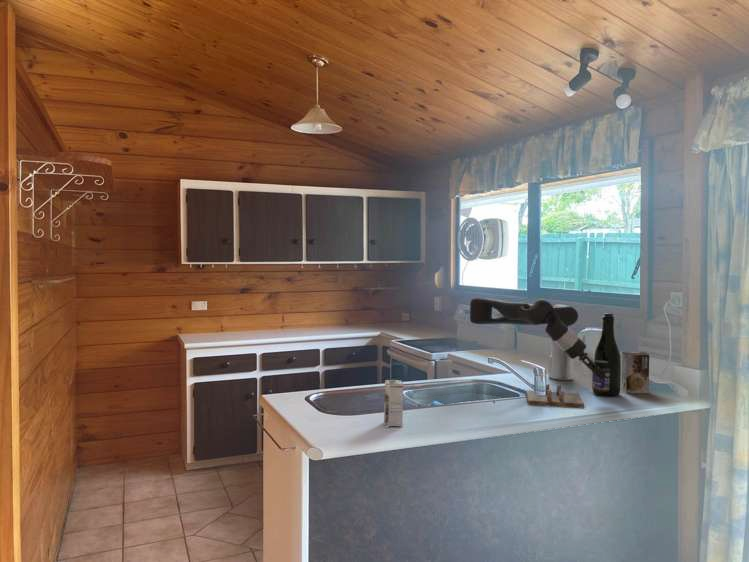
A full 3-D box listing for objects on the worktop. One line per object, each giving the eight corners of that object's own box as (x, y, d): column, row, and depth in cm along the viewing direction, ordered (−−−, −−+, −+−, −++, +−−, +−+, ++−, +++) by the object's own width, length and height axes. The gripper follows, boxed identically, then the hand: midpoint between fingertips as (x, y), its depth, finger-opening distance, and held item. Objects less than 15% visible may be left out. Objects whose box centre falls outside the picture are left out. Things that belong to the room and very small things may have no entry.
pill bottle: (607, 393, 218) (608, 363, 218) (590, 391, 222) (591, 361, 221) (610, 389, 223) (611, 361, 223) (593, 387, 227) (594, 359, 226)
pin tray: (528, 404, 223) (528, 391, 222) (526, 394, 238) (526, 381, 238) (584, 407, 219) (584, 394, 218) (578, 397, 234) (578, 384, 234)
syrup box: (383, 422, 199) (383, 379, 198) (401, 422, 199) (401, 379, 198) (385, 427, 193) (385, 383, 192) (403, 427, 194) (403, 383, 193)
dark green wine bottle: (623, 393, 240) (625, 312, 238) (616, 398, 232) (619, 315, 230) (596, 389, 246) (598, 311, 244) (589, 394, 238) (591, 313, 236)
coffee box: (643, 390, 246) (644, 351, 246) (648, 393, 240) (650, 354, 239) (620, 389, 247) (621, 351, 246) (625, 393, 241) (626, 354, 240)
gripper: (560, 346, 231) (591, 378, 230) (564, 353, 217) (597, 387, 216) (575, 333, 230) (606, 365, 228) (580, 339, 216) (613, 373, 214)
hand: (602, 375), depth 222 cm, fingers closed on pill bottle, 6 cm apart
